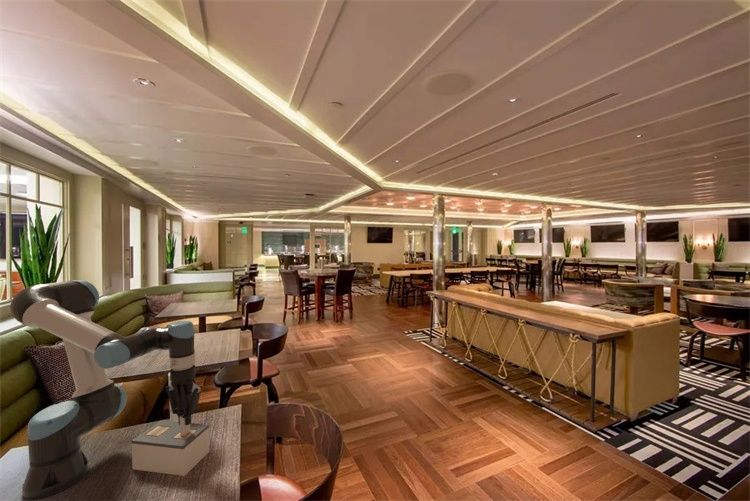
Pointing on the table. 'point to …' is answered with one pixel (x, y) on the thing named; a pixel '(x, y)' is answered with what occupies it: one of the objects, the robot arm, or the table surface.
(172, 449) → the plinth
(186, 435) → the peg
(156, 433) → the peg
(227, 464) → the table surface
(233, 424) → the table surface
